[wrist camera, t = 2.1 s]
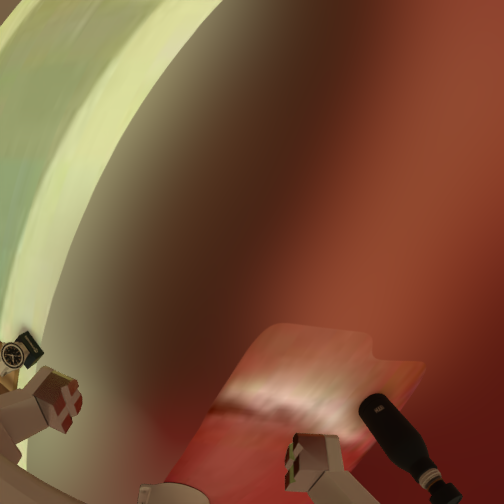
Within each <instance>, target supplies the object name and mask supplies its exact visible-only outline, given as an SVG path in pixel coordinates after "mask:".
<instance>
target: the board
mask: <svg viewBox="0 0 504 504" xmlns="http://www.w3.org/2000/svg"><path fill="white" fill-rule="evenodd" d="M2 344H3V343H2V342H1V341H0V352H1V349H2V347H3V345H2ZM18 375H19V369H18V370H14V371H12V372H11V373H9V374H7V375H5V376H4V377H1V375H0V383H1V384H2V385H4V386H5V387H6V388H7V389H8V390H9V391H13V390H16V389H17V383H18Z"/></svg>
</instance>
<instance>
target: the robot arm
mask: <svg viewBox="0 0 504 504" xmlns="http://www.w3.org/2000/svg"><path fill="white" fill-rule="evenodd" d="M78 387H79V385H78V382H77V380H75V379H73V378H71V377H69V376H66V375H64V374H62V373H60V372H57V371H56V370H53V369H52V368H50V367H47V366H43V367H42V368H40V370H39V371H38V372H37V373H36V374H35V375H34V377H33V378H32V379H31V380H30V381H29V382H28V384H27V385H26V386H25V387H24V388H23V389H20V388H19V389H16V390H13V391H10V392H7V393H4V394H1V395H0V504H86V503H84V502H82V501H80V500H77V499H76V498H74V497H72V496H70V495H68V494H66V493H63V492H62V491H60V490H58V489H56V488H54V487H52V486H50V485H49V484H47V483H45V482H43V481H42V480H40V479H38V478H37V477H35V476H34V475H32V474H30V473H29V472H27V471H26V470H24V469H22V468H21V467H19V466H18V465H17V464H18V462H19V460H20V459H21V457H22V454H21V452H20V450H19V449H18V448H17V446H16V445H15V444H17V443H19V442H21V441H23V440H25V439H27V438H29V437H30V436H32V435H34V434H36V433H38V432H40V431H42V430H44V429H46V428H47V427H48V426H50V427H52V428H54V429H56V430H58V431H60V432H62V433H64V434H66V432H67V431H68V429H69V428H70V426H71V424H72V423H73V422H72V417H73V416H76V415H78V413H79V411H80V410H81V406H82V396H81V393H80V392H79V391H78V389H77V388H78ZM285 467H286V468H287V470H288V472H287V474H286V475H285V491H295V492H308V495H309V496H310V498H311V499H312V501H313V502H314V504H380V503H379V502H378V501H377V500H376V499H375V498H374V497H373V496H372V495H371V494H369V492H368V491H367V490H366V489H365V488H364V487H363V486H362V485H361V484H360V483H359V482H358V481H357V480H356V479H355V478H354V477H353V476H352V475H351V474H350V473H349V472H348V471H344V467H343V461H342V455H341V449H340V443H339V437H338V436H337V435H323V434H308V433H296V434H295V435H294V437H293V443H291V444H289V446H288V449H287V452H286V456H285ZM137 504H210V503H209V500H208V498H207V497H206V496H205V495H204V494H203V493H202V492H200V491H198V490H196V489H194V488H192V487H189V486H186V485H182V484H176V483H161V484H156V485H149V484H142V485H140V490H139V496H138V502H137Z"/></svg>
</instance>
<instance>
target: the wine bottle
mask: <svg viewBox="0 0 504 504" xmlns="http://www.w3.org/2000/svg"><path fill="white" fill-rule="evenodd" d="M359 415H360V417H361V418H362V420H363V421H364V423H365V424H366V426H367V427H368V428H369V430H370V431H371V433H372V434H373V436H374V437H375V439H376V440H377V442H378V443H379V444H380V446H381V447H382V449H383V450H384V452H385V453H386V454H387V456H388V457H389V459H390V460H391V461H392V462H393V463H394V464H395V465H397V466H398V467H399V468H401V469H403V470H405V471H407V472H409V473H410V474H411V475H412V477H413V478H414V479H415V481H416V482H417V483H419V484H420V485H422V487H423V488H424V489H427V490H428V492H430V494H431V495H432V496H431V498H430V502H431V503H432V504H458V503H459V502H460V501H461V499H462V497H463V496H462V494H461V493H460V492H459V491H458V490H457V489H456V487H455V486H454V485H453V484H452V483H448V484H445V482H444V481H443V479H442V478H441V473H440V472H439V471H438V470H437V466H436V465H435V464H434V462H433V461H432V460H431V459H430V458H429V454H428V450H427V447H426V445H425V443H424V441H423V439H422V437H421V435H420V434H419V433H418V432H417V430H416V429H415V428H414V427H413V426H412V425H411V424H410V423H409V421H408V420H407V419H406V418H405V417H404V416H403V415H402V414H401V413H400V412H399V411H398V409H397V408H396V407H395V406H394V405H393V404H392V403H391V402H390V401H389V400H388V398H387V397H386V396H385V395H383V394H373V395H371V396H369V397H368V398H366V399H365V400H364V401H363V402H362V404H361V405H360V407H359Z"/></svg>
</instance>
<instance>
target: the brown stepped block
mask: <svg viewBox="0 0 504 504" xmlns="http://www.w3.org/2000/svg"><path fill="white" fill-rule="evenodd" d="M7 392H10V391H9V390H8V389H7V388H6V387H5V386H4V385H2V384H1V383H0V395H1V394H4V393H7Z"/></svg>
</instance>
